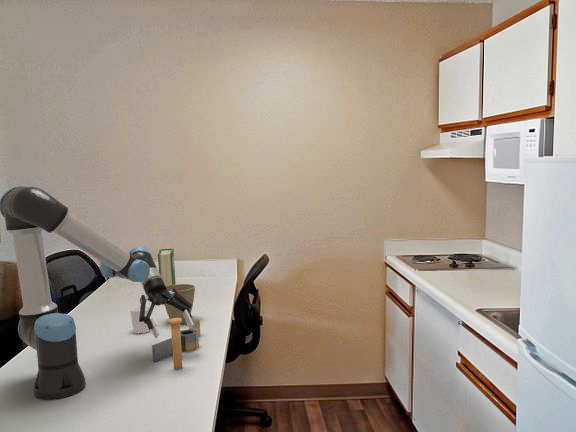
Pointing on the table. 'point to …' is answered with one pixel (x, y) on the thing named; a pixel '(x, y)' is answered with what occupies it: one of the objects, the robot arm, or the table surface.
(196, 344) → the hinge leaf
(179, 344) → the hinge pin
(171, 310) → the plant pot
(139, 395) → the table surface
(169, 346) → the hinge leaf
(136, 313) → the white cup
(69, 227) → the robot arm
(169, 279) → the hardback book
